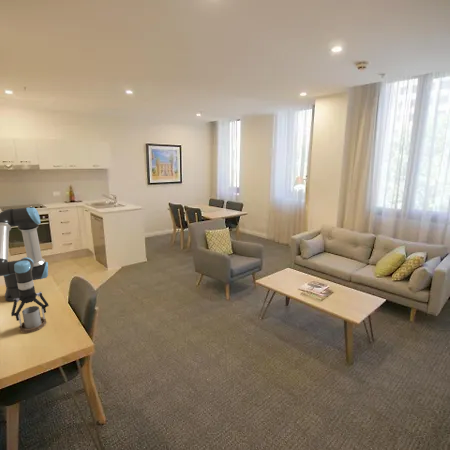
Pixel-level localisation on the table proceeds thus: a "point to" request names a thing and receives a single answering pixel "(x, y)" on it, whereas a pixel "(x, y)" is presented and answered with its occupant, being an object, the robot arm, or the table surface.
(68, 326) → the table surface
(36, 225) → the robot arm
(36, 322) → the cup
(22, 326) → the tray
